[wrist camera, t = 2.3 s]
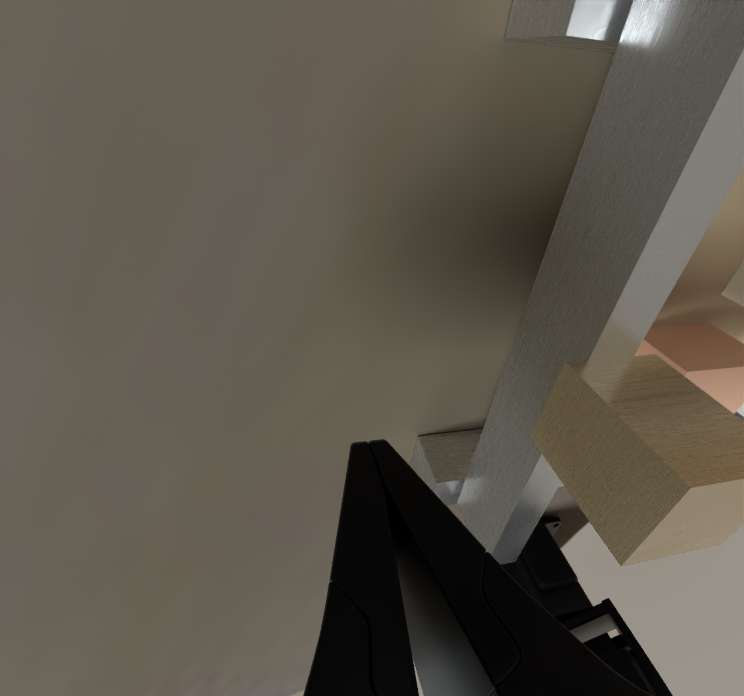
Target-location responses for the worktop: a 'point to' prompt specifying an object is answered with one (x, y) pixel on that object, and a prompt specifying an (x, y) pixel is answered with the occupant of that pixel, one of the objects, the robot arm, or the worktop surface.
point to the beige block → (736, 287)
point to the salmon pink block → (701, 359)
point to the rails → (543, 26)
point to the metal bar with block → (625, 311)
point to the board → (712, 273)
